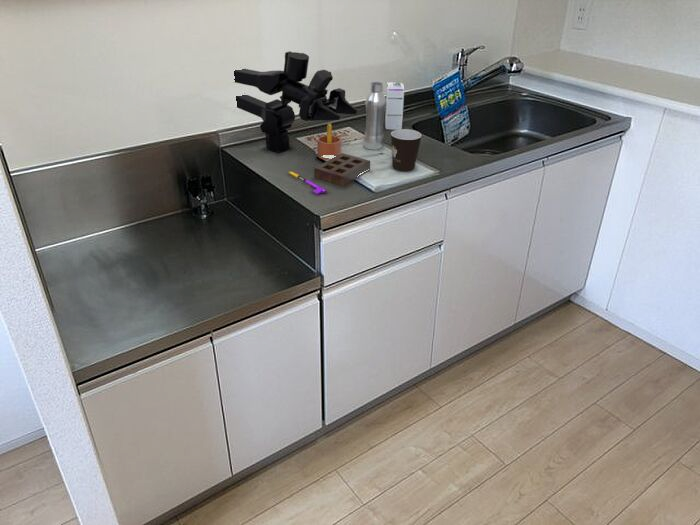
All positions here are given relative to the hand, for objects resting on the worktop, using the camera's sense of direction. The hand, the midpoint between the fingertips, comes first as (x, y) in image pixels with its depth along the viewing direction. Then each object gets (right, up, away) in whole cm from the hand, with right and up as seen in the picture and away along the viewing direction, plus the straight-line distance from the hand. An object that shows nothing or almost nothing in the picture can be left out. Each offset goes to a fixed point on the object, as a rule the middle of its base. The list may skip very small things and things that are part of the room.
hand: (348, 115), depth 153 cm
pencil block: (-2, -16, +4) cm, 17 cm away
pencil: (-6, -8, +15) cm, 18 cm away
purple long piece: (-12, -19, -1) cm, 23 cm away
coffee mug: (+16, -12, +12) cm, 23 cm away
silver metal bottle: (+8, -5, +22) cm, 24 cm away
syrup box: (+15, +6, +40) cm, 43 cm away
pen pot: (-6, -8, +16) cm, 19 cm away
